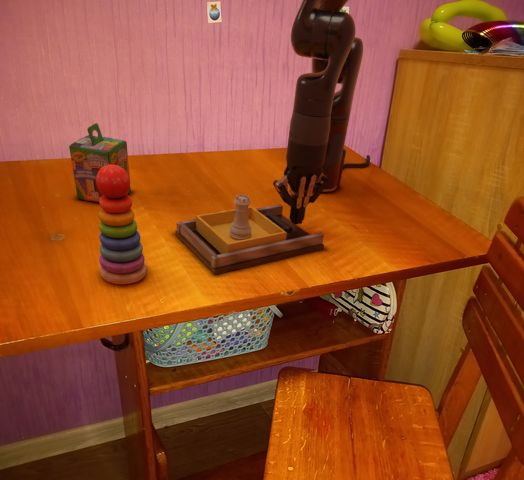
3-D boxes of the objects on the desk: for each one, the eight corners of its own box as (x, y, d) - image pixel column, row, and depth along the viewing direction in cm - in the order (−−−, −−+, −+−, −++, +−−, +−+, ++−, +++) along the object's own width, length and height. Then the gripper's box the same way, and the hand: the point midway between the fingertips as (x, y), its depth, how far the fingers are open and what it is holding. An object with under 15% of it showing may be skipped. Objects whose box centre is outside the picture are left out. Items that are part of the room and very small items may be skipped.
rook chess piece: (228, 230, 98) (230, 191, 93) (250, 231, 99) (253, 192, 94) (229, 240, 95) (231, 200, 90) (252, 241, 95) (255, 202, 90)
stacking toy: (155, 269, 88) (149, 164, 76) (132, 291, 82) (121, 180, 70) (116, 259, 89) (105, 154, 77) (91, 279, 83) (74, 169, 71)
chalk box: (115, 206, 106) (107, 135, 97) (75, 199, 107) (64, 128, 98) (132, 191, 113) (127, 123, 104) (95, 185, 114) (86, 117, 105)
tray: (264, 217, 106) (265, 203, 104) (298, 243, 98) (300, 229, 96) (195, 230, 98) (195, 215, 96) (227, 259, 90) (227, 244, 88)
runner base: (277, 215, 110) (279, 203, 108) (323, 249, 100) (326, 235, 98) (175, 234, 99) (175, 220, 97) (215, 274, 88) (215, 260, 86)
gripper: (290, 146, 87) (279, 235, 98) (347, 140, 93) (331, 225, 104) (268, 134, 92) (260, 220, 103) (323, 128, 98) (310, 210, 109)
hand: (296, 222), depth 103 cm, fingers closed
